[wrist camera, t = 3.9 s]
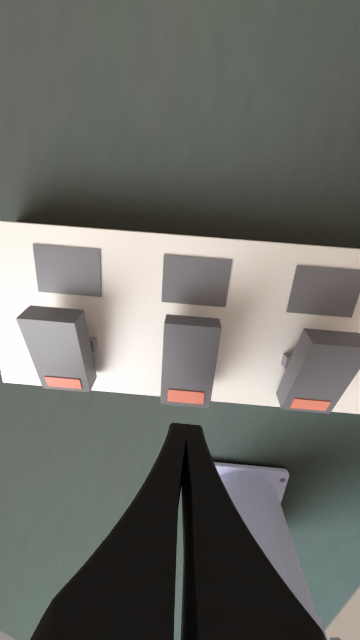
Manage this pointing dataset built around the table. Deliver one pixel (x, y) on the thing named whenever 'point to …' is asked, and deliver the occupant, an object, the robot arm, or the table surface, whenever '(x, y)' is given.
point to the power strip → (177, 302)
